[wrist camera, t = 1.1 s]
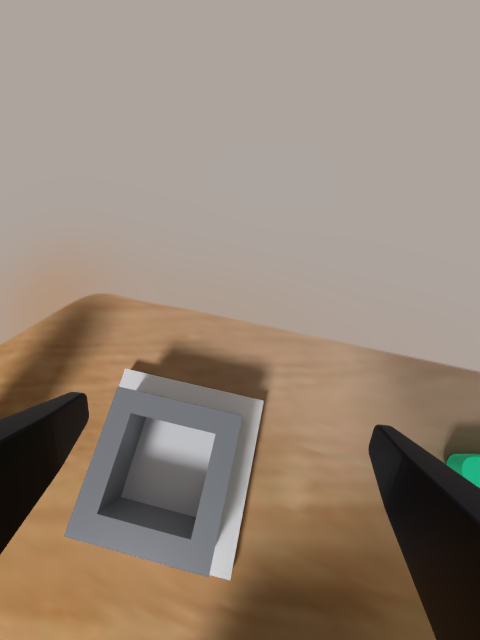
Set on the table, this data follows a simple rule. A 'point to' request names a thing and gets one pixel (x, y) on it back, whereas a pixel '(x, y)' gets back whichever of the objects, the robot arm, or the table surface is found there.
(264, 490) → the table surface
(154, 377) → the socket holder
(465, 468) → the camera mount
